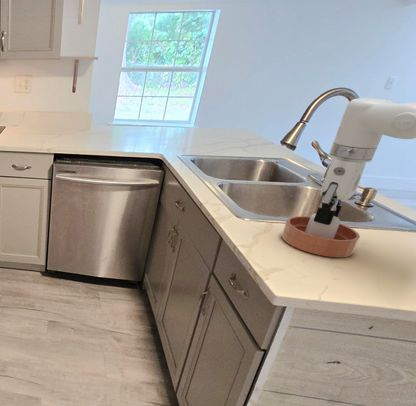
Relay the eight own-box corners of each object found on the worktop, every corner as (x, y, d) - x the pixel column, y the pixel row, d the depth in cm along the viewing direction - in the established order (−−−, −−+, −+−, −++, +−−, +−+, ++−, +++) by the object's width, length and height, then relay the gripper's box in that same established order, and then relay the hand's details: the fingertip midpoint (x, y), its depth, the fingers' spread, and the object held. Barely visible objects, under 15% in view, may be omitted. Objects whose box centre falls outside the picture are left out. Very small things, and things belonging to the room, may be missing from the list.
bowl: (359, 247, 95) (366, 230, 93) (341, 264, 88) (349, 247, 86) (292, 227, 106) (298, 211, 104) (272, 241, 99) (278, 225, 97)
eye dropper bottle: (324, 249, 94) (341, 207, 89) (298, 240, 98) (314, 199, 94) (333, 245, 95) (350, 204, 91) (308, 236, 100) (323, 196, 95)
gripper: (363, 162, 80) (332, 235, 87) (383, 149, 88) (354, 217, 96) (319, 154, 86) (294, 224, 93) (342, 143, 94) (317, 208, 101)
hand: (324, 219), depth 94 cm, fingers closed on eye dropper bottle, 3 cm apart
